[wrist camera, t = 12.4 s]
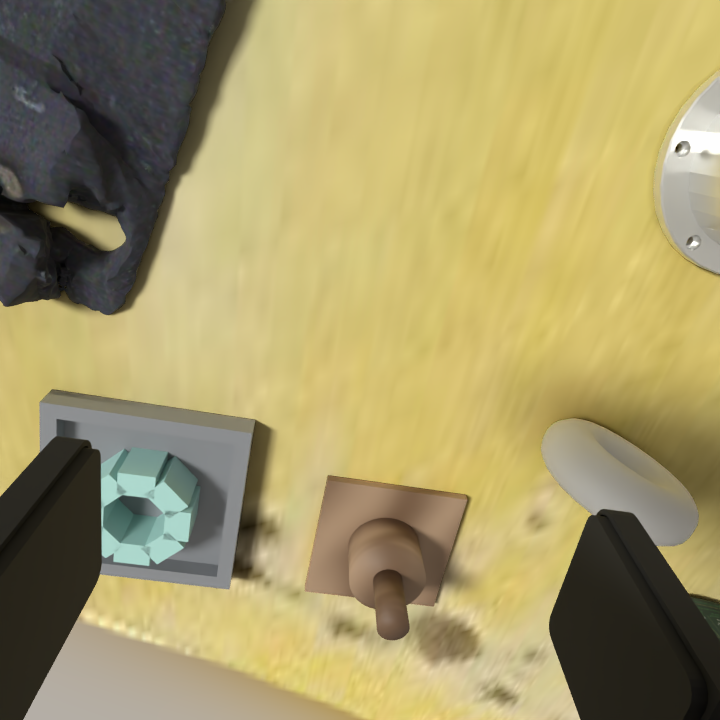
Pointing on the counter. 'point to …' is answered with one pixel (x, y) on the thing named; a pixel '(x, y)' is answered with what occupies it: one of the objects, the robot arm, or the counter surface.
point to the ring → (164, 488)
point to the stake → (383, 546)
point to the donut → (618, 479)
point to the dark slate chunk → (91, 133)
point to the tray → (179, 438)
